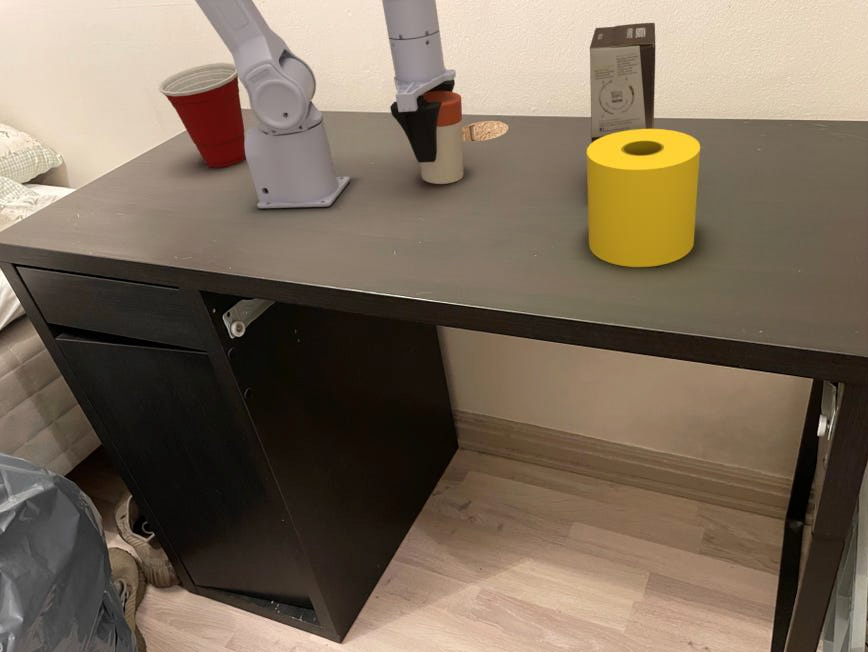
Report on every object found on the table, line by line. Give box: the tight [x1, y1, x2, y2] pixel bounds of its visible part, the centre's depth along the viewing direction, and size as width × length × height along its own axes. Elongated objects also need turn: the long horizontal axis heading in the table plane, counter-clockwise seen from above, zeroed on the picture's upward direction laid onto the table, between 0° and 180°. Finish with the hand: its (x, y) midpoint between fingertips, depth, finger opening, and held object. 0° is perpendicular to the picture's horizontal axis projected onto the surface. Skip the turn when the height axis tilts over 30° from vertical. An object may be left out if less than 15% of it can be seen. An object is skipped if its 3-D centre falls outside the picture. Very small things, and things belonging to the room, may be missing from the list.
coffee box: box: [589, 22, 656, 144], centre depth 79 cm, size 9×6×16 cm
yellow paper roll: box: [586, 128, 701, 268], centre depth 69 cm, size 10×10×9 cm
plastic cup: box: [157, 62, 246, 168], centre depth 102 cm, size 11×11×12 cm
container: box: [420, 91, 464, 185], centre depth 88 cm, size 5×5×10 cm
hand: (432, 152), depth 89 cm, fingers closed on container, 5 cm apart
